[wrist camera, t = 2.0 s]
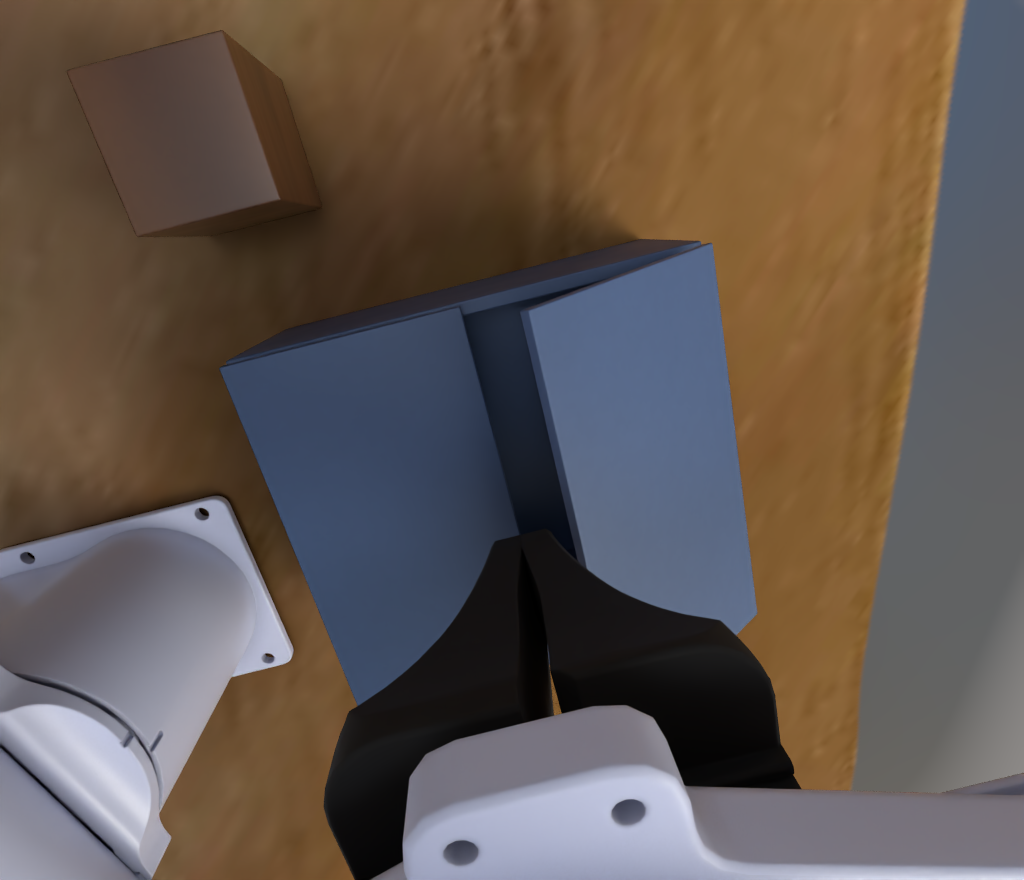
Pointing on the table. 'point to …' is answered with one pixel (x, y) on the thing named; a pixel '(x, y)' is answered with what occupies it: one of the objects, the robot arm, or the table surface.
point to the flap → (648, 435)
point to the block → (196, 137)
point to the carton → (411, 450)
